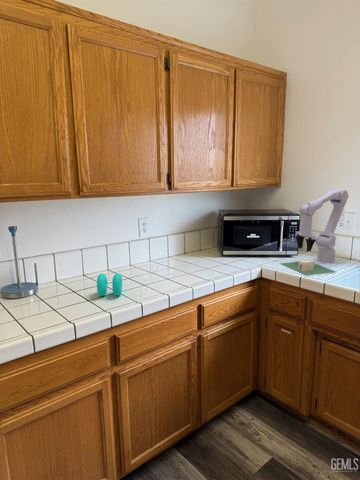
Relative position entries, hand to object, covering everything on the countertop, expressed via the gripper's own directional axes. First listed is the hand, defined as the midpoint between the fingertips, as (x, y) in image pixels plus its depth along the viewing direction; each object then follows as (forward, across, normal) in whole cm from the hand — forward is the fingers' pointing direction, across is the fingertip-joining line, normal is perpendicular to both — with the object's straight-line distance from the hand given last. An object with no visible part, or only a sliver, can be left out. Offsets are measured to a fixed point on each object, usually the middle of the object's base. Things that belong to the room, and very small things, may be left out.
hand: (304, 249), depth 193 cm
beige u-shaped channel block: (+9, +9, -6) cm, 14 cm away
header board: (+10, +5, -2) cm, 11 cm away
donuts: (+9, +11, -112) cm, 113 cm away
